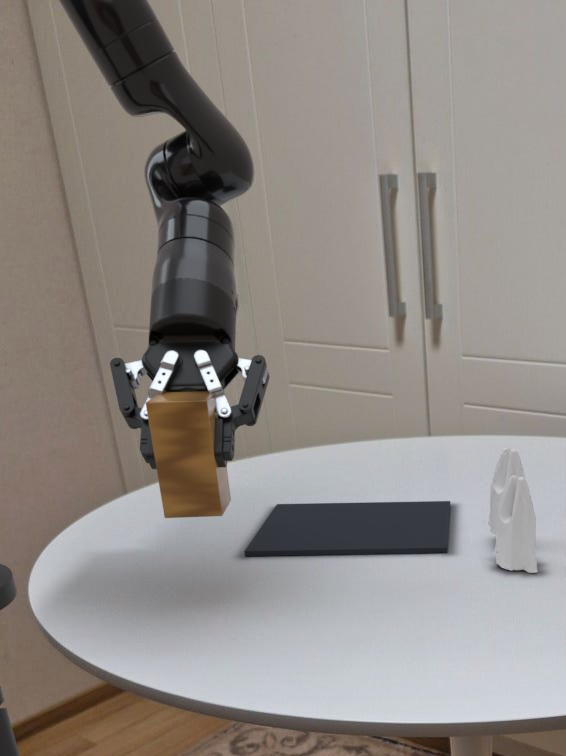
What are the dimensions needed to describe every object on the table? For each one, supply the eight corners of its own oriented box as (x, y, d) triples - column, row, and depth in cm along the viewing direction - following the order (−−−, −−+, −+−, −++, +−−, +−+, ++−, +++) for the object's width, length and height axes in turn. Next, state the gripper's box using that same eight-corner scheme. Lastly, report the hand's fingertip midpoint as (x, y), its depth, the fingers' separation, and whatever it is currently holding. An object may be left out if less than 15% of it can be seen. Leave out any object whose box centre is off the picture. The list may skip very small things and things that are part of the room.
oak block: (164, 518, 78) (145, 402, 74) (176, 502, 82) (159, 392, 78) (222, 516, 78) (206, 400, 74) (231, 500, 83) (216, 390, 79)
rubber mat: (244, 556, 96) (244, 551, 96) (277, 508, 113) (276, 503, 112) (447, 552, 96) (447, 547, 96) (450, 505, 113) (450, 500, 113)
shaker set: (487, 537, 101) (486, 440, 96) (524, 536, 101) (524, 439, 96) (498, 575, 90) (497, 467, 85) (539, 573, 90) (540, 465, 86)
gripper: (100, 276, 78) (86, 442, 73) (266, 274, 80) (264, 437, 74) (127, 333, 85) (115, 488, 80) (278, 330, 87) (278, 483, 81)
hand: (187, 462), depth 77 cm, fingers closed on oak block, 5 cm apart
